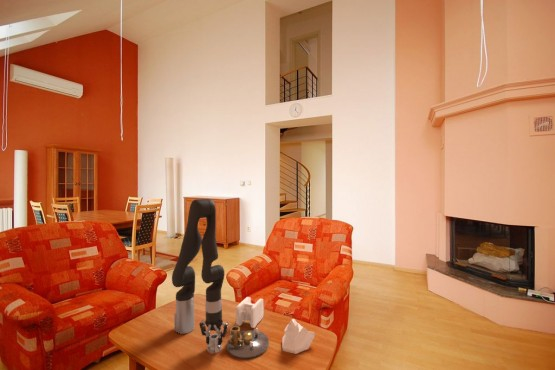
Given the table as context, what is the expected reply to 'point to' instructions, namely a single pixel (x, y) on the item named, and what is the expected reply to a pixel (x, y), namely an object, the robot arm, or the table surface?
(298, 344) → the white faceted rock
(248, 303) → the cable organizer
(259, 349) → the carrier
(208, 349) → the gear
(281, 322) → the table surface
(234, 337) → the seated gear
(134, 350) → the table surface
